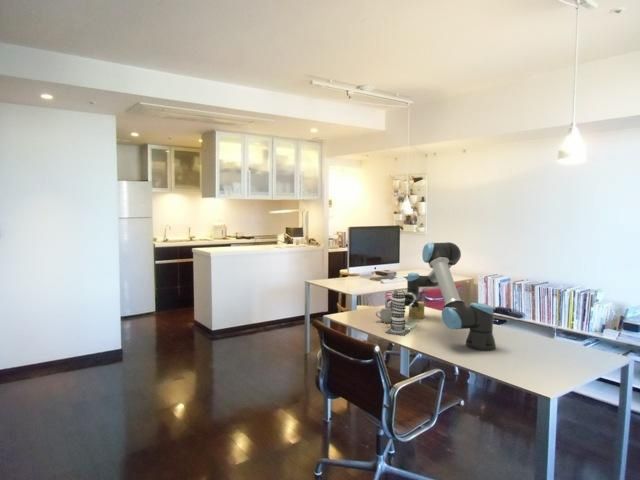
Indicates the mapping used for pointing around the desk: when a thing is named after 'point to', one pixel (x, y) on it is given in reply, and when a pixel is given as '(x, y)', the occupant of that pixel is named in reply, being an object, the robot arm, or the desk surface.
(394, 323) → the decorative candle
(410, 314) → the cheese
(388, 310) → the teacup
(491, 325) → the robot arm
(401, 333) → the charcoal mat
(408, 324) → the sage mat
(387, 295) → the gum box
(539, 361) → the desk surface
